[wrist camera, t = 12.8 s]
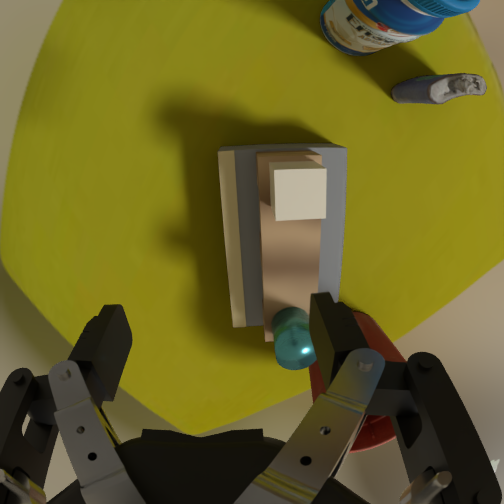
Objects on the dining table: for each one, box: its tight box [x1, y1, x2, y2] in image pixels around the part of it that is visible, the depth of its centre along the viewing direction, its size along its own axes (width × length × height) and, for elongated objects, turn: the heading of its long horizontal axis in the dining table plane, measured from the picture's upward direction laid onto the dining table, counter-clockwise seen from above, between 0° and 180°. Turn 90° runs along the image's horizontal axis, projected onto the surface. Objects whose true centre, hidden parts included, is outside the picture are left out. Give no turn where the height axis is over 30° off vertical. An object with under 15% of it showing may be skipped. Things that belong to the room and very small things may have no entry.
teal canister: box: [271, 307, 317, 370], centre depth 31 cm, size 4×4×5 cm
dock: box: [218, 143, 347, 328], centre depth 36 cm, size 21×13×5 cm, turn 3°
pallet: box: [256, 150, 322, 342], centre depth 32 cm, size 20×6×4 cm, turn 3°
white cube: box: [269, 161, 327, 221], centre depth 25 cm, size 4×4×4 cm
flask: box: [391, 73, 487, 104], centre depth 26 cm, size 9×3×11 cm, turn 112°
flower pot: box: [309, 312, 407, 453], centre depth 39 cm, size 16×16×16 cm
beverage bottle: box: [320, 0, 480, 56], centre depth 19 cm, size 8×8×20 cm
